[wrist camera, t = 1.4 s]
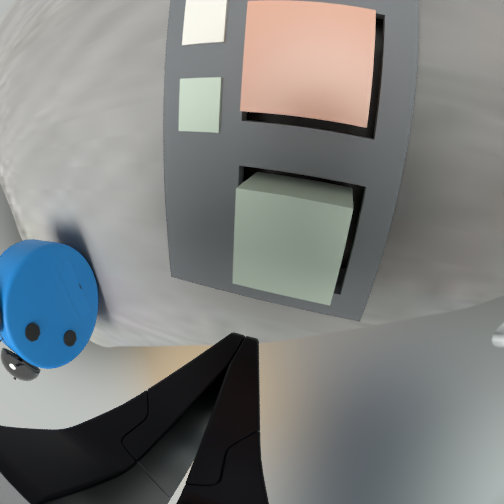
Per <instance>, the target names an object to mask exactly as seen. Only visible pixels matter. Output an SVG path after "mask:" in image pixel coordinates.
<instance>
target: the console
mask: <svg viewBox="0 0 504 504" xmlns="http://www.w3.org/2000/svg"><path fill="white" fill-rule="evenodd" d="M248 1H258V0H171V1H170V10H169V19H168V30H167V43H166V58H165V77H164V113H163V146H164V184H165V204H166V221H167V235H168V247H169V258H170V269H171V277H174V278H178V279H181V280H185V281H189V282H192V283H196V284H200V285H204V286H208V287H211V288H215V289H219V290H223V291H227V292H231V293H235V294H239V295H243V296H247V297H251V298H255V299H259V300H264V301H268V302H272V303H276V304H281V305H285V306H289V307H294V308H298V309H303V310H307V311H312V312H316V313H321V314H326V315H330V316H335V317H340V318H345V319H350V320H355V321H360V320H361V317H362V314H363V312H364V309H365V306H366V303H367V300H368V298H369V295H370V292H371V289H372V286H373V283H374V280H375V277H376V274H377V271H378V267H379V264H380V261H381V258H382V254H383V251H384V248H385V244H386V241H387V237H388V233H389V230H390V226H391V222H392V218H393V214H394V210H395V206H396V202H397V198H398V193H399V189H400V184H401V180H402V175H403V170H404V165H405V160H406V154H407V148H408V142H409V136H410V130H411V123H412V115H413V108H414V99H415V89H416V78H417V64H418V42H419V4H418V0H290V1H311V2H323V3H333V4H341V5H348V6H355V7H361V8H367V9H372V10H376V18H379V19H383V38H382V57H381V71H380V83H379V93H378V102H377V111H376V119H375V127H374V134H373V138H369V137H364V136H359V135H354V134H349V133H344V132H338V131H332V130H326V129H320V128H314V127H307V126H299V125H291V124H283V123H274V122H264V121H252V120H247V112H245V111H240V103H241V86H242V71H243V56H244V42H245V28H246V15H247V3H248ZM244 166H247V167H254V168H262V169H269V170H276V171H283V172H289V173H295V174H302V175H307V176H313V177H319V178H324V179H330V180H335V181H340V182H345V183H350V184H355V185H360V186H365V188H364V193H363V198H362V203H361V208H360V213H359V217H358V222H357V226H356V231H355V235H354V239H353V244H352V248H351V252H350V256H349V260H348V264H347V268H346V269H345V268H340V270H339V274H338V278H337V281H336V285H335V289H334V293H333V296H332V300H331V304H330V305H325V304H320V303H316V302H311V301H306V300H302V299H297V298H293V297H288V296H284V295H280V294H275V293H271V292H267V291H262V290H258V289H254V288H249V287H245V286H241V285H237V284H233V283H232V282H233V251H234V224H235V200H236V188H237V187H238V186H239V185H241V184H242V183H243V172H244Z"/></svg>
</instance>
